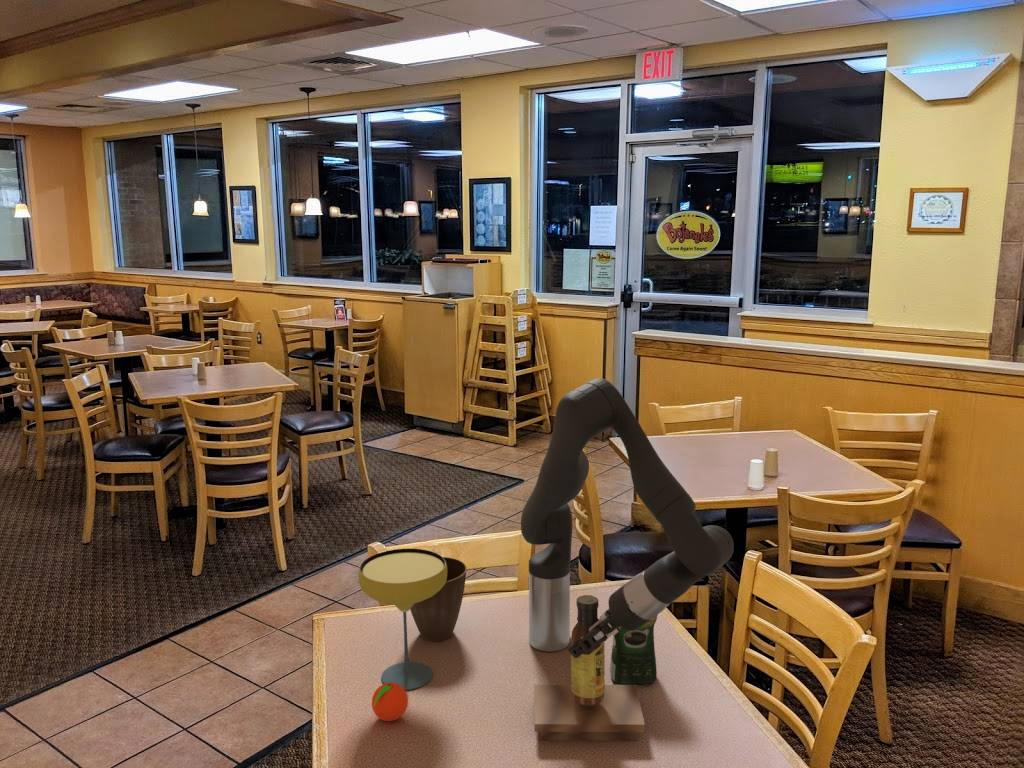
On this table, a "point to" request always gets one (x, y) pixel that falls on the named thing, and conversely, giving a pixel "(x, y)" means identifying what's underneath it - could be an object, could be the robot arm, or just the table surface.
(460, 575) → the plant pot
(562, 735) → the walnut shelf
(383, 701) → the clementine
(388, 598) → the cocktail glass
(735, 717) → the table surface
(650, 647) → the coffee jar
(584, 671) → the sauce bottle
